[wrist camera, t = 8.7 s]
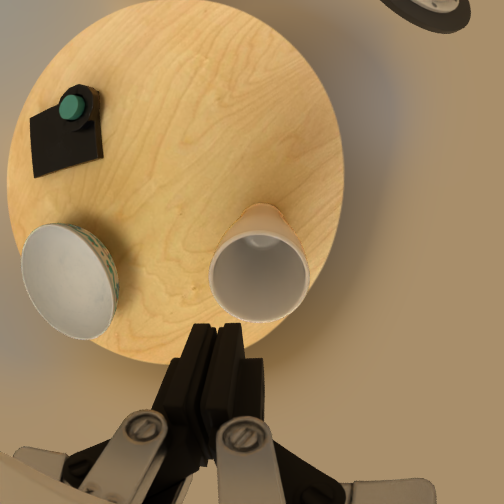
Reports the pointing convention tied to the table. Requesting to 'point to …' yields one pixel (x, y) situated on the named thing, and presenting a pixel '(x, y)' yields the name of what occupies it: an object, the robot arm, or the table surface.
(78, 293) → the chinaware
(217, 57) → the table surface
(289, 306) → the white tall cup
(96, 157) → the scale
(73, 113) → the tare button
